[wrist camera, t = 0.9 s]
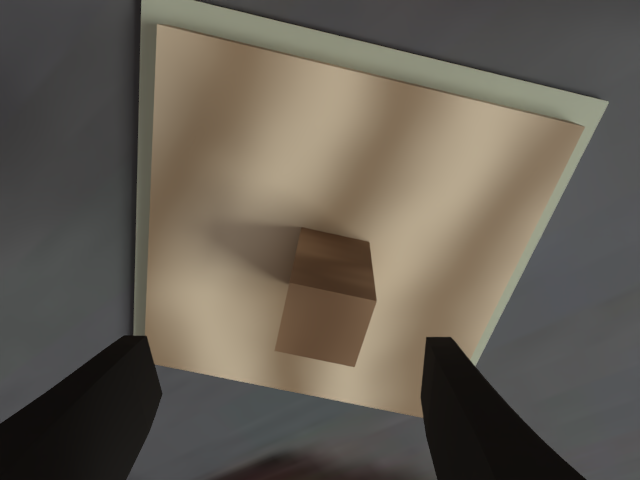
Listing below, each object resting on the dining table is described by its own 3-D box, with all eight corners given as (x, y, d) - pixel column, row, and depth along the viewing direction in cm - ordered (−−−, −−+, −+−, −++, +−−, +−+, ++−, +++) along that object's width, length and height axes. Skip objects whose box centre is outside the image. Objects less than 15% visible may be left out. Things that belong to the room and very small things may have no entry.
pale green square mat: (603, 100, 16) (609, 101, 16) (445, 416, 24) (446, 421, 24) (146, -12, 16) (141, -13, 15) (136, 354, 24) (132, 359, 23)
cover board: (572, 121, 17) (669, 159, 12) (436, 406, 24) (460, 504, 19) (167, 24, 16) (87, 20, 11) (151, 349, 23) (98, 436, 18)
